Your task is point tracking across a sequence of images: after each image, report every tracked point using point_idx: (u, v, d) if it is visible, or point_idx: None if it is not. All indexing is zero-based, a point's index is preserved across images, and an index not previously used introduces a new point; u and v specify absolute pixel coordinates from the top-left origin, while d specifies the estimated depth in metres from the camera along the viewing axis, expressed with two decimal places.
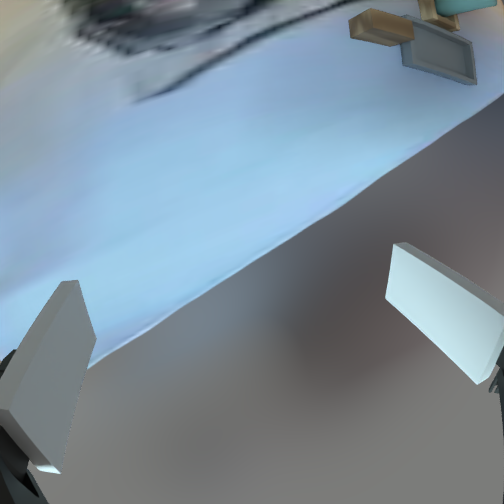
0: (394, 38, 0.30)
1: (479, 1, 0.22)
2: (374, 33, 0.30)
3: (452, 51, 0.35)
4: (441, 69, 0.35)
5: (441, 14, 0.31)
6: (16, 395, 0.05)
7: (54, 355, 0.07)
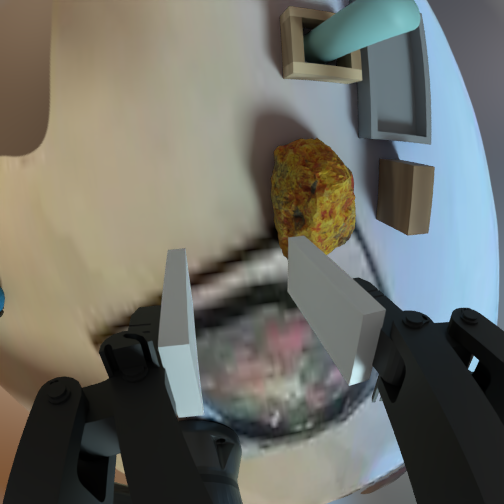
0: None
1: None
2: None
3: None
4: (427, 89, 0.26)
5: None
6: None
7: (189, 307, 0.10)
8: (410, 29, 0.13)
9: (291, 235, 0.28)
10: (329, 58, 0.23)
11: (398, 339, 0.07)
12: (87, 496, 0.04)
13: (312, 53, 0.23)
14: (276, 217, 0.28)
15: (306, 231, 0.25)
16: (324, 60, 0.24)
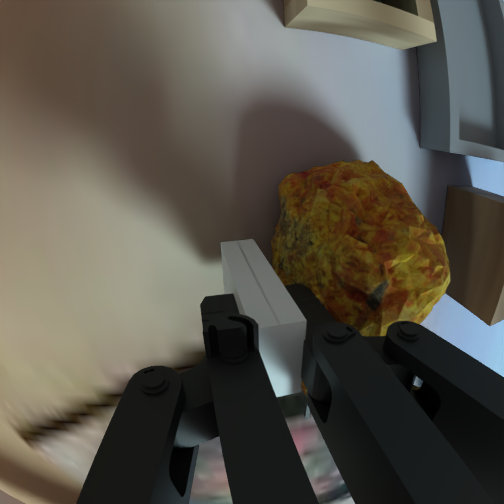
0: None
1: None
2: None
3: None
4: None
5: None
6: None
7: None
8: None
9: None
10: None
11: (320, 357, 0.07)
12: (173, 491, 0.04)
13: None
14: None
15: None
16: None
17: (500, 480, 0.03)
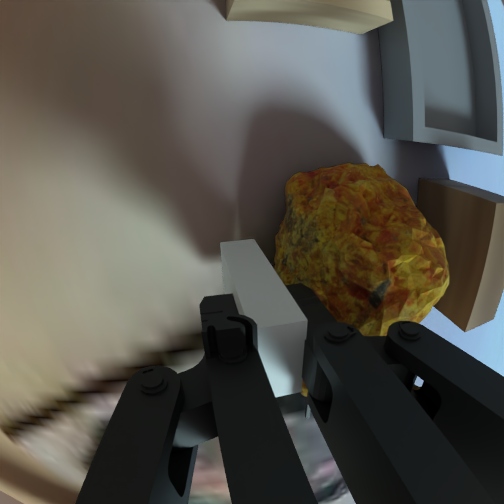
0: None
1: None
2: None
3: None
4: (495, 59, 0.11)
5: None
6: None
7: None
8: None
9: None
10: None
11: (321, 356, 0.07)
12: (172, 491, 0.04)
13: None
14: None
15: None
16: None
17: (500, 480, 0.03)
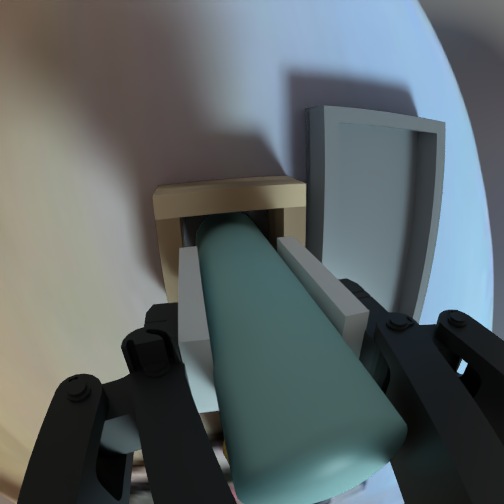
0: None
1: None
2: None
3: (356, 183, 0.17)
4: (425, 274, 0.18)
5: None
6: None
7: None
8: (343, 491, 0.05)
9: None
10: None
11: (382, 342, 0.07)
12: (104, 494, 0.04)
13: None
14: None
15: None
16: None
17: None
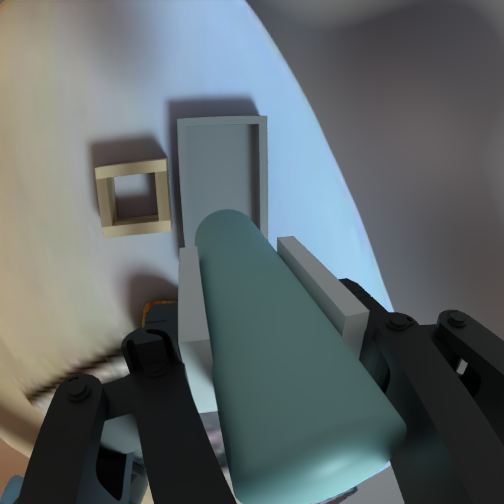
0: None
1: None
2: None
3: (208, 159, 0.30)
4: (263, 215, 0.31)
5: None
6: None
7: None
8: (342, 491, 0.05)
9: None
10: None
11: (382, 342, 0.07)
12: (104, 494, 0.04)
13: None
14: None
15: None
16: None
17: None
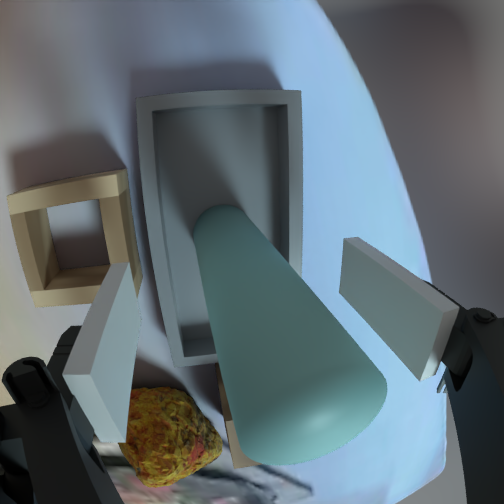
0: None
1: None
2: None
3: (197, 170, 0.17)
4: (294, 266, 0.18)
5: None
6: None
7: (117, 328, 0.09)
8: (334, 449, 0.07)
9: None
10: None
11: (469, 330, 0.07)
12: None
13: None
14: None
15: None
16: None
17: None
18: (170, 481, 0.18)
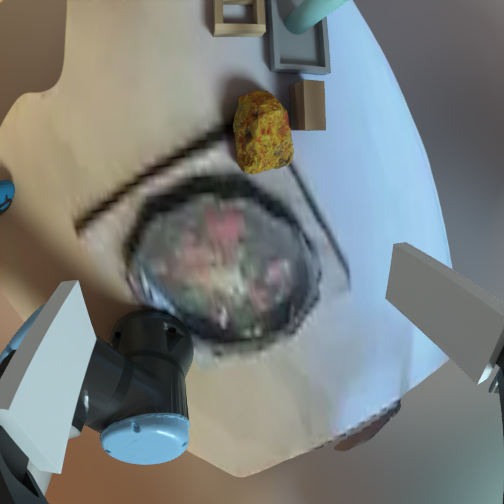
0: None
1: (340, 5, 0.26)
2: None
3: (286, 3, 0.35)
4: (325, 34, 0.36)
5: None
6: (16, 395, 0.05)
7: (54, 355, 0.07)
8: (342, 2, 0.25)
9: (244, 150, 0.40)
10: (303, 28, 0.34)
11: None
12: None
13: (293, 25, 0.35)
14: (235, 139, 0.40)
15: (252, 143, 0.37)
16: (301, 30, 0.35)
17: None
18: (270, 134, 0.37)
